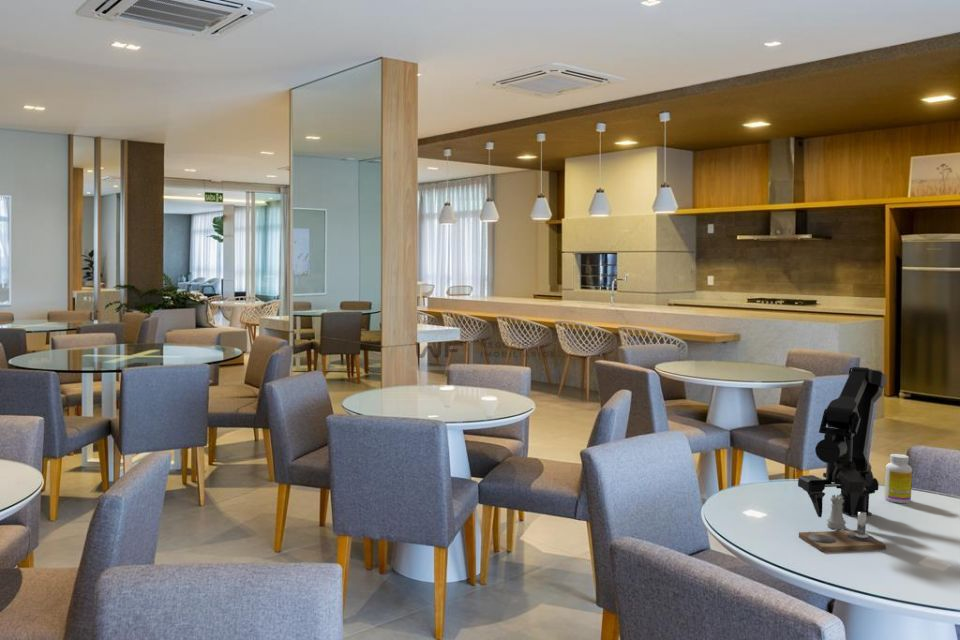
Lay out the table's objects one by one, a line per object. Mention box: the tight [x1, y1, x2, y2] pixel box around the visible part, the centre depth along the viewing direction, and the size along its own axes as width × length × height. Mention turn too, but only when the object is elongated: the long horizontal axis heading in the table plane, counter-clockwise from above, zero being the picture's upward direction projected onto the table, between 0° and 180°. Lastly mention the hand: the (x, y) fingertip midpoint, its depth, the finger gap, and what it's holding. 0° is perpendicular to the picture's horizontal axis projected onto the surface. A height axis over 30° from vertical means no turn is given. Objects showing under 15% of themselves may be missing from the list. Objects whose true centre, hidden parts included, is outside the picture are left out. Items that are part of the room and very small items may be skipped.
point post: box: [854, 511, 870, 539], centre depth 191 cm, size 3×3×6 cm
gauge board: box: [798, 529, 887, 553], centre depth 190 cm, size 16×10×1 cm, turn 98°
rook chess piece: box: [826, 494, 847, 531], centre depth 202 cm, size 4×4×8 cm
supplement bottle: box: [884, 453, 913, 504], centre depth 225 cm, size 7×7×13 cm
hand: (836, 516), depth 202 cm, fingers open, 9 cm apart
